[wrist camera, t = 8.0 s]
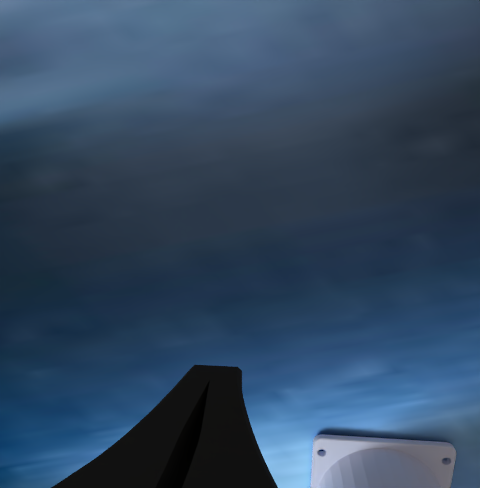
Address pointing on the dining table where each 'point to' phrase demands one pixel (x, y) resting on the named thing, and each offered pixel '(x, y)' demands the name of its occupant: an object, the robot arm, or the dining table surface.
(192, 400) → the robot arm
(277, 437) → the dining table surface
